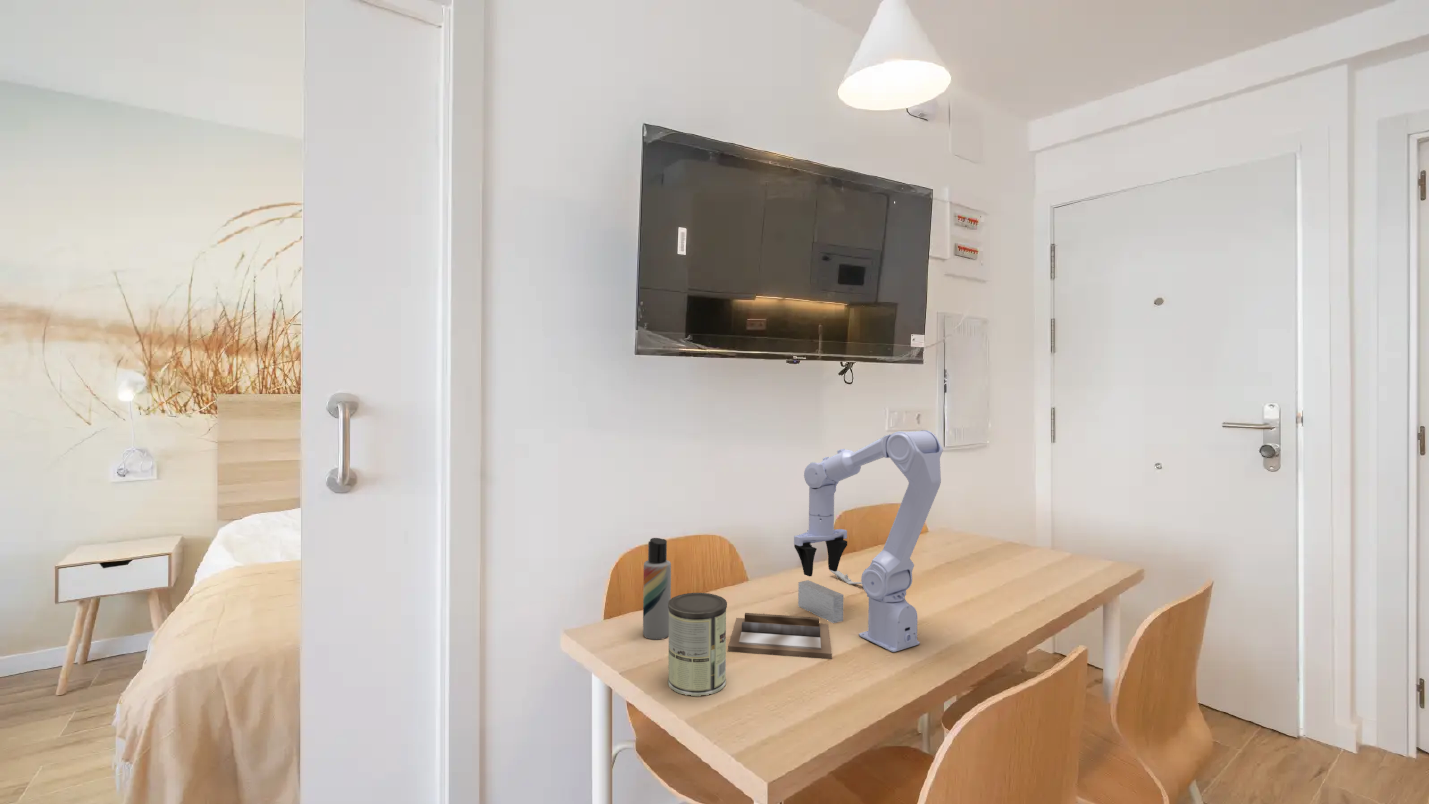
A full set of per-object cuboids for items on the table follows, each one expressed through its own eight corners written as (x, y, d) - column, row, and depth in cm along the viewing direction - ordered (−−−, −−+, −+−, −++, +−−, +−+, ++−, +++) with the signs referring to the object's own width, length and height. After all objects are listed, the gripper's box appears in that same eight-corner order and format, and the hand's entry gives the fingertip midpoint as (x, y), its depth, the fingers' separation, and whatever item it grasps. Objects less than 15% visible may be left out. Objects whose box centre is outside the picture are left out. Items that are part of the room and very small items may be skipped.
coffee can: (668, 668, 109) (669, 592, 109) (724, 668, 109) (725, 592, 109) (665, 697, 98) (666, 612, 98) (727, 697, 99) (728, 612, 99)
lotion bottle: (656, 626, 128) (657, 534, 128) (675, 633, 124) (676, 539, 124) (637, 635, 124) (638, 539, 123) (656, 642, 120) (657, 544, 120)
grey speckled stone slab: (843, 621, 133) (843, 594, 133) (833, 624, 131) (833, 597, 131) (807, 604, 143) (808, 580, 143) (798, 607, 142) (798, 582, 141)
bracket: (871, 582, 152) (832, 555, 164) (867, 602, 153) (828, 573, 165) (876, 581, 153) (837, 554, 165) (872, 601, 154) (833, 572, 166)
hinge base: (828, 628, 128) (828, 614, 128) (831, 658, 113) (831, 643, 113) (736, 622, 131) (736, 608, 131) (728, 651, 116) (728, 636, 116)
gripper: (832, 508, 144) (832, 563, 144) (785, 514, 136) (785, 572, 137) (853, 513, 138) (852, 571, 138) (805, 519, 130) (805, 581, 131)
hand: (820, 572), depth 137 cm, fingers open, 7 cm apart
